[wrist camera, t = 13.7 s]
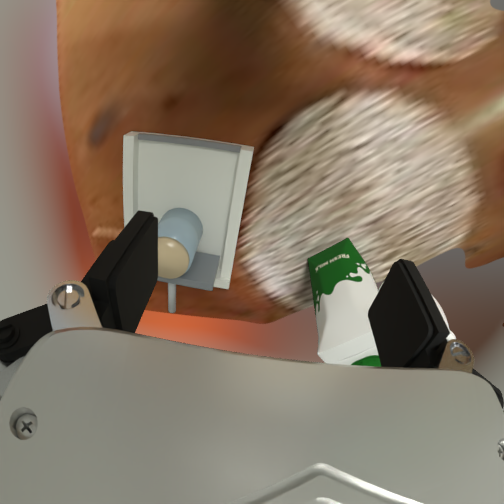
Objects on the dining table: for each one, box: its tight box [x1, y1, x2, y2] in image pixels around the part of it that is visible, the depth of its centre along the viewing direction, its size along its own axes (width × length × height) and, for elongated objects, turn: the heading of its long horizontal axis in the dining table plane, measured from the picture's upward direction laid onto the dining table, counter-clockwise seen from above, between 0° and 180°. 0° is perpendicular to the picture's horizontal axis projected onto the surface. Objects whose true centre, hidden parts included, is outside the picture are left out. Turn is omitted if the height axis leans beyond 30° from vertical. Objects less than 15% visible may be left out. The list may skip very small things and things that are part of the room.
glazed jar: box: [158, 208, 203, 279], centre depth 39 cm, size 6×6×8 cm
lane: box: [123, 131, 254, 289], centre depth 40 cm, size 21×16×3 cm
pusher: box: [157, 252, 220, 313], centre depth 44 cm, size 9×12×6 cm
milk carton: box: [308, 238, 381, 367], centre depth 37 cm, size 9×9×20 cm
